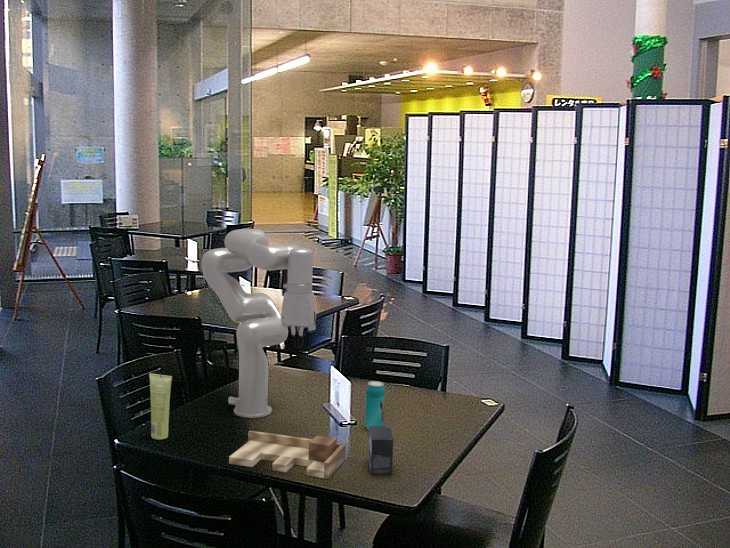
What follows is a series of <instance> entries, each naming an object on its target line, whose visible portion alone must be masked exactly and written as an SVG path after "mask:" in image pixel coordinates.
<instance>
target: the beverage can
mask: <svg viewBox="0 0 730 548" xmlns="http://www.w3.org/2000/svg"><path fill="white" fill-rule="evenodd" d="M385 390H386V389H385V383H384V382H383V381H379V380H377V381H375V380H372V381H368V382H367V387H366V396H365V426H366V429H367V431H369V426H384V414H385V411H384V410H385V392H386V391H385Z"/></svg>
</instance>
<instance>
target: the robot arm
mask: <svg viewBox="0 0 730 548" xmlns="http://www.w3.org/2000/svg"><path fill="white" fill-rule="evenodd" d="M224 246H225V247H219V248H218V247H217V248H213V249H210V250H208V251H206V252H204V253H203V255H202V258H201V263H200V264H201V273H202V275H203V278H204V279H205V281H206V283H207V284H208V286H209V287H210V288H211V290H212V291H214V293H215V294H216V295H217V298H218V300H219V301H220V302H221V304H222V306H223V308H224V309H225V310H224V311H226V313H227V314H228V317H229V318H230V319H231V321H232V322H234V323H239V324H238V326H237V328H236V331H235V332H236V334H235V335H236V340H237V345H238V347H237V348H238V359H239V360H238V366H239V367H238V397H235V396H229V397H228V398H227V399H228V400H227V401H228V404H229V405H234V406H235V407H234V408H233V413H234V414H235V416H239V417H241V418H250V419H255V418H257V419H258V418H263V417H267V416H269V415H271V414H272V413H273V408H272V406H270V405H268V400H269V398H268V396H269V395H268V390H269V389H268V387H269V359H268V357H267V354H266V353H265V352H264V349H263V348H265V347H269V346H276V345H279V344H280V345H281V344H282V343H284V342H285V341H286V340H287V338H288V335H289V331H290V333H291V335H292V345H293V349H298V350H299V349H301V348H302V347H303V346H304V343H305V334H306V333H308V332H311V331H315V330H316V329H317V328H316V322H317V306H316V298H315V293H314V292H313V271H314V270H313V269H314V268H313V266H314V264H313V263H314V254H313V253H314V252H313V251H312V249H309V248H305V247H301V246H299V245H296V244H277V245H270V242H269V240H268V237H267V234H266V233H265V232H264V231H263V230H262V229H259V228H243V229H234V230H231V231H230V232H228V233H227V234H226V236H225V237H224ZM252 267H254V268H257V269H260V270H264V271H270V272H271V271H278V270H287V282H286V283H283V286H282V287H283V289H286V291H285V292H284V293H283V298H282V304H281V312H280V310H279V309H278V307H277V305H276V303H275V302H274V301H273V299H272V298H271V297H270V296H269V295H268V294H267V293H263V292H252V293H251V292H250V293H248V292H246V291H245V290H244V288H243V287H242V285H241V283H240V282H239V281H238V280H237V279H236V278H234V277H233V276H231V275H230V274H228V273H236V272H237V273H238V272H244V271H248V270H250V269H251V268H252Z"/></svg>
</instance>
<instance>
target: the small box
mask: <svg viewBox="0 0 730 548" xmlns="http://www.w3.org/2000/svg"><path fill="white" fill-rule="evenodd" d="M367 432H368V435H367V439H368V441H367V462H368V467H369V472H370V475H371V476H373V475H374V476H377V475H380V476H381V475H384V476H385V475H390V476H391V475H393V474H394V473H393V467H394V466H393V465H394V464H393V463H394V462H393V461H394V441H395V440H394V435H393V433H392V430H391V427H390V426H389V425H383V426H369V430H367Z"/></svg>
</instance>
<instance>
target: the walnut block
mask: <svg viewBox="0 0 730 548" xmlns="http://www.w3.org/2000/svg"><path fill="white" fill-rule="evenodd" d="M311 439H312V440H311V441H310V442H309V457H308V460H314V461H320V462H325V461H326V460H327V459H328V458H329V457H330V456H331V455H332V454H333V453H334V451H335V450H336V448H337V443H338V441H337V440H338V439H337V438H335V437H329V436H322V435H316V436H315V437H313V438H311Z"/></svg>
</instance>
